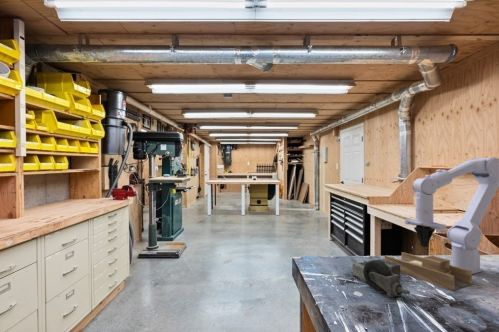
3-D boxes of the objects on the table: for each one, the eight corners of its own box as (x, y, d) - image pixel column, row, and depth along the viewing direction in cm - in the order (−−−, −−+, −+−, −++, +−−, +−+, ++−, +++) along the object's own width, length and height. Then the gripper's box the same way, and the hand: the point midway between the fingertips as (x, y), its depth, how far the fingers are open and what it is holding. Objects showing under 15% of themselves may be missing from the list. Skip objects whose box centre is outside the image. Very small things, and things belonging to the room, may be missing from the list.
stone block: (350, 275, 108) (349, 261, 108) (382, 271, 112) (382, 257, 112) (366, 284, 99) (365, 268, 99) (401, 279, 103) (400, 264, 103)
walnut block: (432, 266, 107) (432, 255, 107) (449, 271, 102) (449, 260, 102) (422, 269, 104) (421, 257, 104) (439, 274, 99) (439, 262, 99)
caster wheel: (361, 289, 97) (403, 302, 84) (358, 259, 98) (399, 267, 85) (373, 285, 100) (415, 298, 87) (370, 256, 101) (412, 264, 88)
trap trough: (403, 263, 120) (403, 252, 120) (471, 284, 98) (471, 271, 98) (384, 267, 115) (384, 255, 115) (452, 290, 93) (452, 276, 93)
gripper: (399, 208, 116) (400, 243, 115) (437, 213, 103) (437, 252, 102) (411, 207, 119) (411, 241, 119) (449, 212, 106) (449, 250, 106)
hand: (424, 246), depth 111 cm, fingers closed
